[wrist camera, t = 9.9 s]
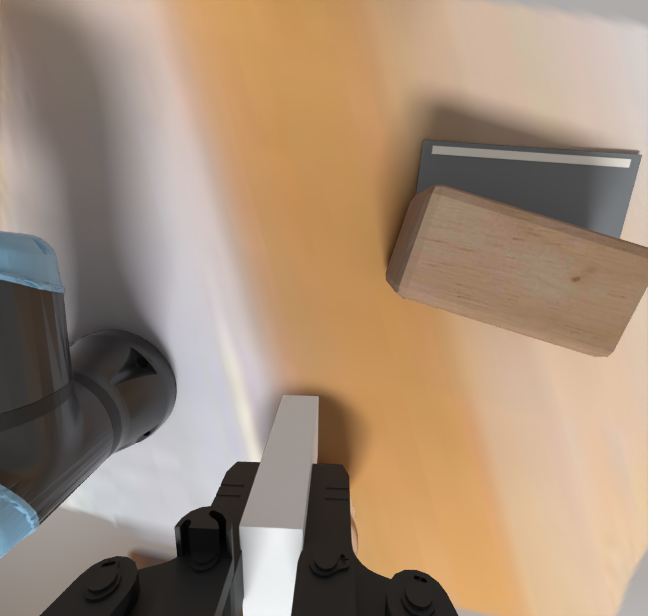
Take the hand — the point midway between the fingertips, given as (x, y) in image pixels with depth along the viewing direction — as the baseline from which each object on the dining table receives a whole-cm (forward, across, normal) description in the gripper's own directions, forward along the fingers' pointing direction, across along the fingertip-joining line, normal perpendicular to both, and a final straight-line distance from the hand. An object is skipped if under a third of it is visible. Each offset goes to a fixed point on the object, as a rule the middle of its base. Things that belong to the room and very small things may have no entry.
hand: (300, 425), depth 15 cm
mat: (+27, +21, +8) cm, 35 cm away
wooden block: (+22, +8, +7) cm, 24 cm away
